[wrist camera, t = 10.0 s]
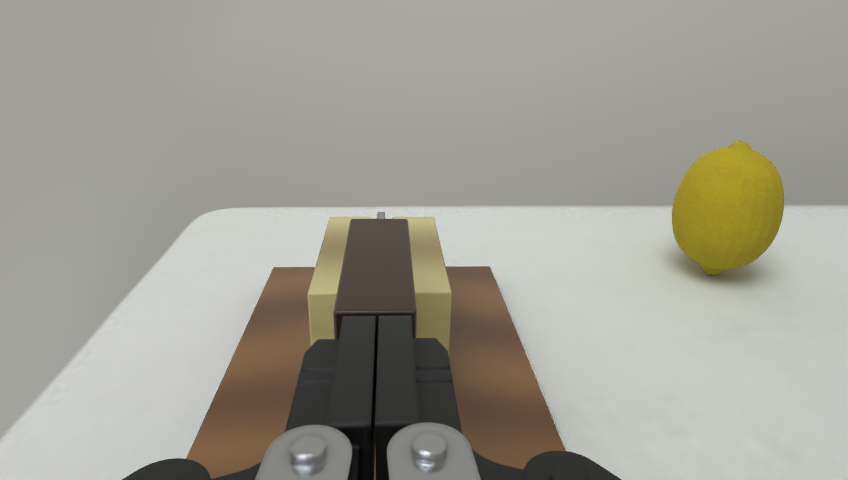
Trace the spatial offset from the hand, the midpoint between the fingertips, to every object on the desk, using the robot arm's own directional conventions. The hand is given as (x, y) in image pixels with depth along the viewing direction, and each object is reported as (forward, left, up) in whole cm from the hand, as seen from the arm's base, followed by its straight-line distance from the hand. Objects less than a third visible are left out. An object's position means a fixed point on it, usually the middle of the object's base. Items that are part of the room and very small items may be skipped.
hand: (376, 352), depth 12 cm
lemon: (+12, +24, -7) cm, 28 cm away
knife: (-2, +5, -6) cm, 8 cm away
